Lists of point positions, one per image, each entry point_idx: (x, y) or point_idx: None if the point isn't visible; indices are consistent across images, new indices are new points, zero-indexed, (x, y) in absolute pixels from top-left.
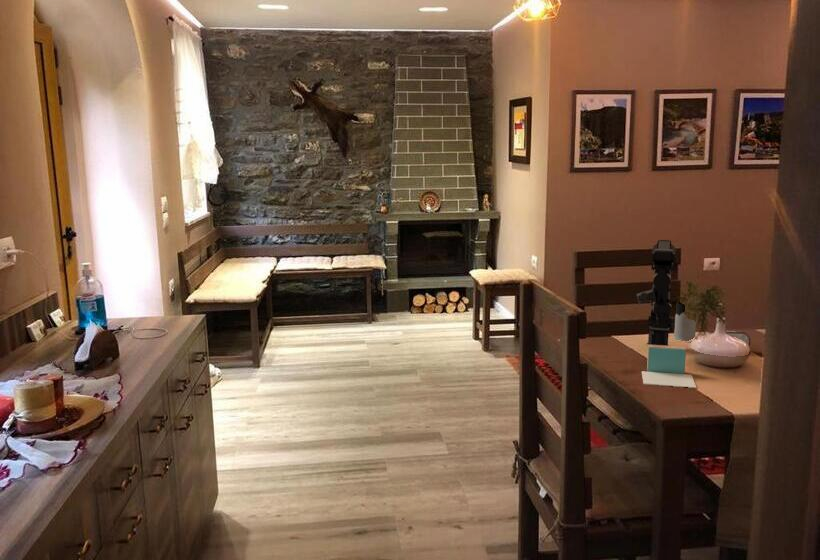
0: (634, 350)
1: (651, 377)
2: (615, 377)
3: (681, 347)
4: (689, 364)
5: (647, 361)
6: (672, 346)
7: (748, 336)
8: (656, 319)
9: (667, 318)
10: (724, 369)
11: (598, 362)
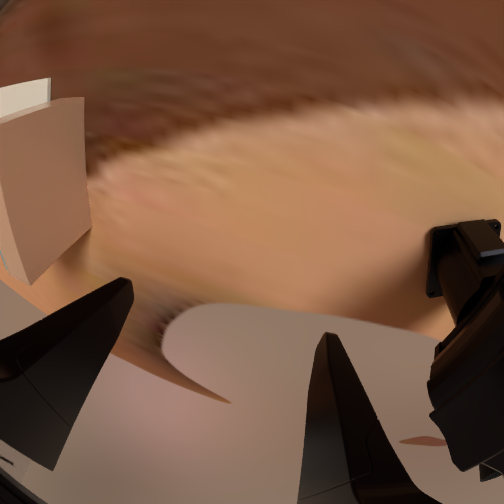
0: (413, 103)
1: (11, 112)
2: (14, 9)
3: (16, 268)
4: (179, 276)
5: (48, 104)
6: (10, 238)
7: None
8: (492, 355)
9: (436, 413)
10: (156, 340)
11: None
